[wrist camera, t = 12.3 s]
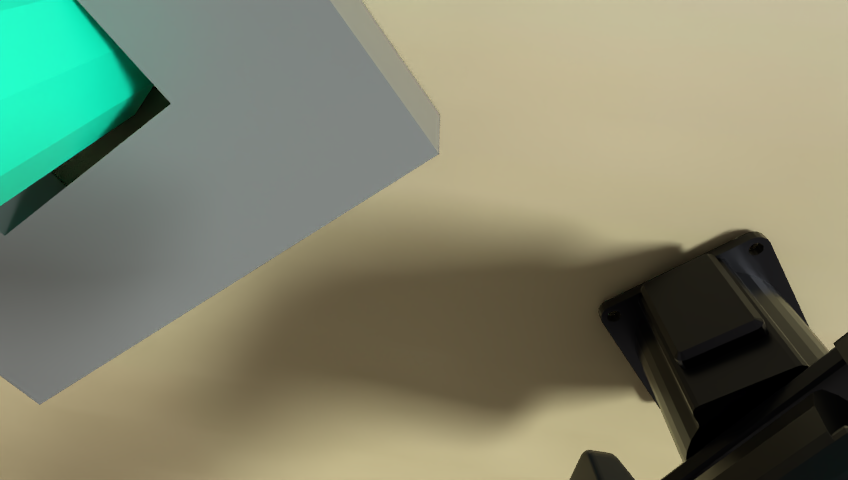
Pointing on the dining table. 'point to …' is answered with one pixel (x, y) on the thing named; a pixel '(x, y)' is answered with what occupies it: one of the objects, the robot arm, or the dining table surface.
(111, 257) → the socket block
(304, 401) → the dining table surface
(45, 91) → the candle
